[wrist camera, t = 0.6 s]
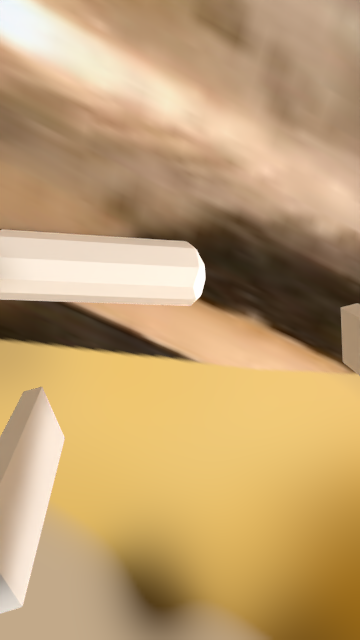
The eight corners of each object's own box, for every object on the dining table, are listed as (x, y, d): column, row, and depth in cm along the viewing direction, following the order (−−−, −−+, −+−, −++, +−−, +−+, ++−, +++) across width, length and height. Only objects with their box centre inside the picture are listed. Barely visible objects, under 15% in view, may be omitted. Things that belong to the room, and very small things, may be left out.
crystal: (-23, 322, 36) (202, 327, 39) (-48, 270, 30) (216, 282, 34) (-4, 273, 40) (195, 282, 44) (-23, 221, 35) (206, 237, 39)
